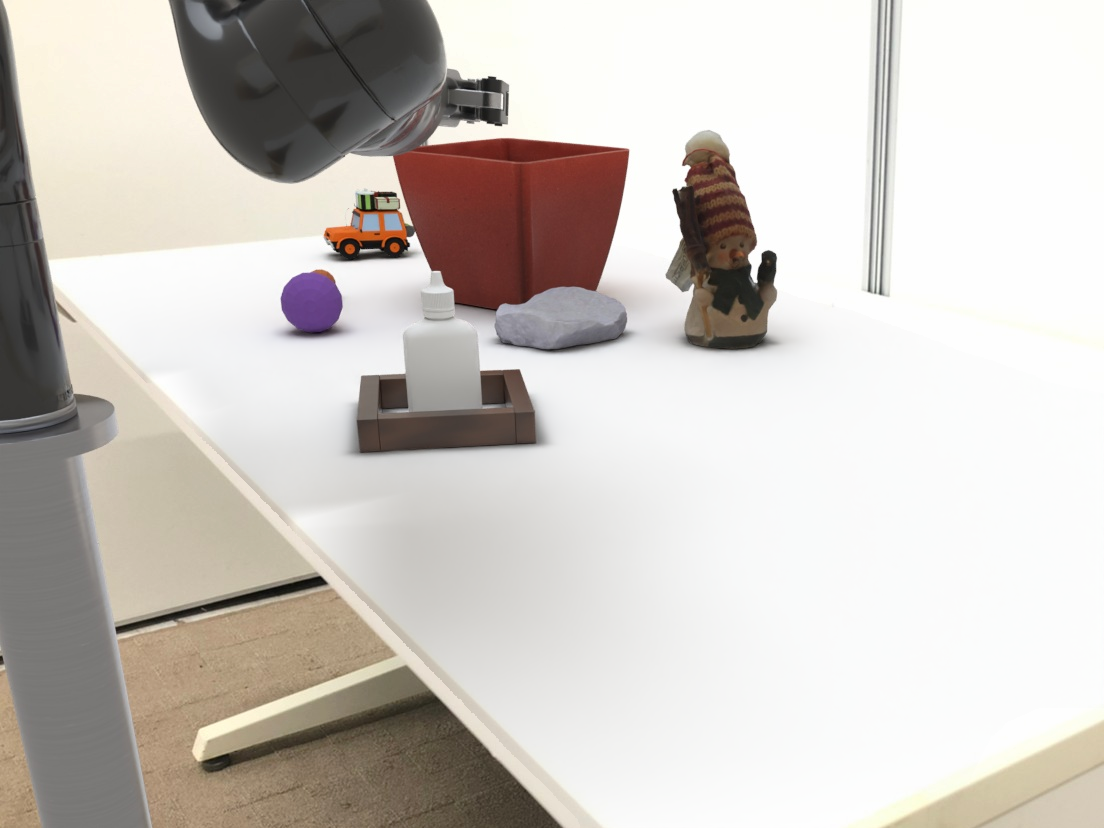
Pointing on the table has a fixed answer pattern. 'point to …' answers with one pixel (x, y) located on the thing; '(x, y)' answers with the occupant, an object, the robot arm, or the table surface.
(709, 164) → the figurine
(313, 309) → the purple maraca
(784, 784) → the table surface
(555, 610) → the table surface
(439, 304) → the eye dropper bottle
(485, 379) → the brown wooden square frame
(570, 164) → the flower pot
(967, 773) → the table surface
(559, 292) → the stone block
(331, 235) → the toy car
